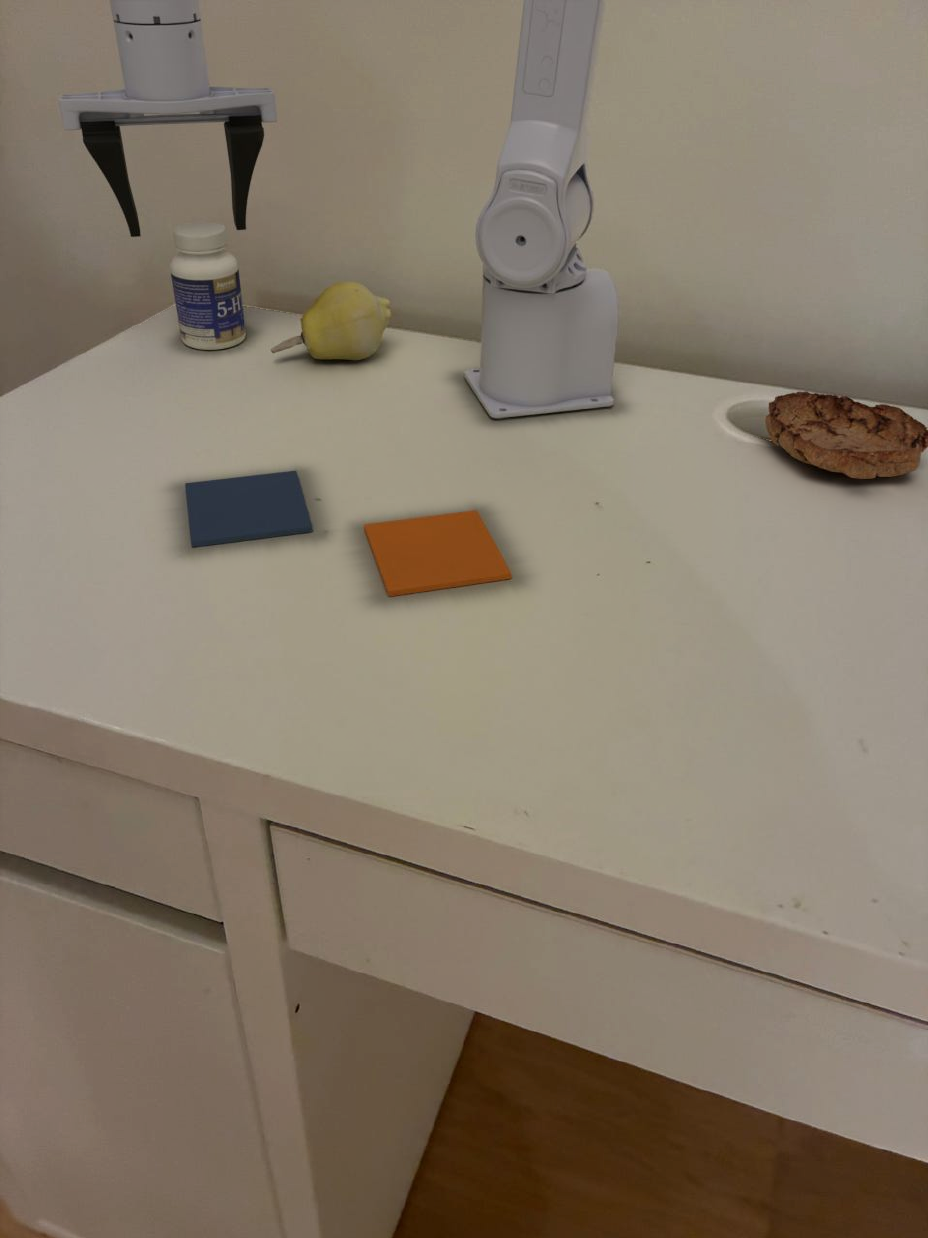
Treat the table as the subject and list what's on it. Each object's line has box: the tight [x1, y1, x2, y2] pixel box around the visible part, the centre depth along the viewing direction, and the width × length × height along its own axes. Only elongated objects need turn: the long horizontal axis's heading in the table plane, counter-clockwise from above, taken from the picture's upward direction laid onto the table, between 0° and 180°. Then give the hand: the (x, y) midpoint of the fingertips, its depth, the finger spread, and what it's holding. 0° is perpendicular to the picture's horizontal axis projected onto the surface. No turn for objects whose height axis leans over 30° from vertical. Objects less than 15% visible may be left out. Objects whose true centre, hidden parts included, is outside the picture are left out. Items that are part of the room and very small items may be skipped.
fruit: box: [270, 281, 392, 361], centre depth 78 cm, size 6×6×10 cm
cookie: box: [765, 390, 928, 480], centre depth 67 cm, size 10×11×3 cm
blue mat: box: [184, 470, 313, 548], centre depth 61 cm, size 7×7×1 cm
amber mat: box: [363, 509, 512, 597], centre depth 57 cm, size 7×7×1 cm
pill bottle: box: [169, 221, 247, 351], centre depth 79 cm, size 5×5×9 cm
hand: (188, 229), depth 75 cm, fingers open, 7 cm apart
